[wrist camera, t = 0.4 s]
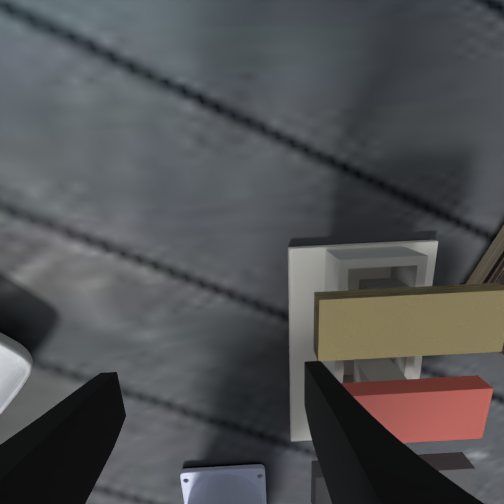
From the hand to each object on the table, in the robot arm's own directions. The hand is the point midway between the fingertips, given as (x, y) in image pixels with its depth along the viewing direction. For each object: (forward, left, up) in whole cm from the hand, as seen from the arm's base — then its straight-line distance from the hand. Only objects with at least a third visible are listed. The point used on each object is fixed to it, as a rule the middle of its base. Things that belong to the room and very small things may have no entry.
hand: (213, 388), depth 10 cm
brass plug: (0, -10, -8) cm, 12 cm away
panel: (-6, -10, -10) cm, 16 cm away
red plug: (-6, -10, -8) cm, 14 cm away
